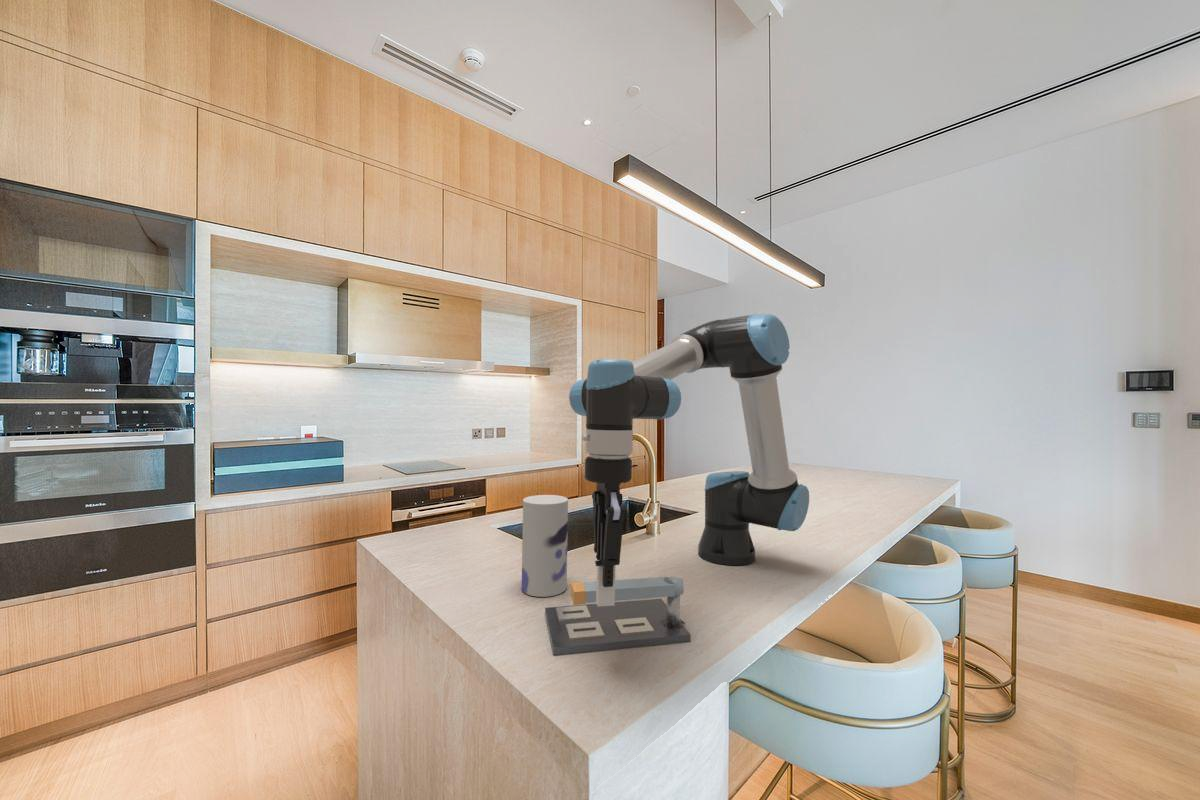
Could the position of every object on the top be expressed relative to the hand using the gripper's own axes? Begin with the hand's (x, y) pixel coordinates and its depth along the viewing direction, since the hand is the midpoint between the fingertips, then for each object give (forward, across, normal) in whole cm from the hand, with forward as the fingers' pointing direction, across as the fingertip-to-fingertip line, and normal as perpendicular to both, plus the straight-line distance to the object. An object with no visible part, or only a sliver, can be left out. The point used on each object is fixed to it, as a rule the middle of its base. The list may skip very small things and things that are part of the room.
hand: (605, 603), depth 73 cm
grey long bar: (+2, -8, +6) cm, 11 cm away
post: (+9, -8, +15) cm, 19 cm away
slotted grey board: (+9, -11, +4) cm, 15 cm away
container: (+9, -31, -7) cm, 33 cm away
